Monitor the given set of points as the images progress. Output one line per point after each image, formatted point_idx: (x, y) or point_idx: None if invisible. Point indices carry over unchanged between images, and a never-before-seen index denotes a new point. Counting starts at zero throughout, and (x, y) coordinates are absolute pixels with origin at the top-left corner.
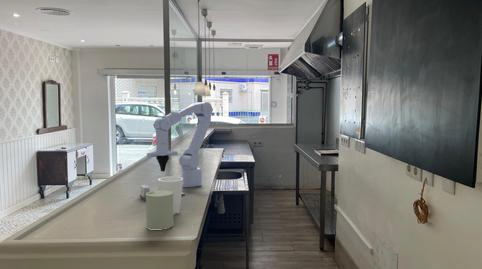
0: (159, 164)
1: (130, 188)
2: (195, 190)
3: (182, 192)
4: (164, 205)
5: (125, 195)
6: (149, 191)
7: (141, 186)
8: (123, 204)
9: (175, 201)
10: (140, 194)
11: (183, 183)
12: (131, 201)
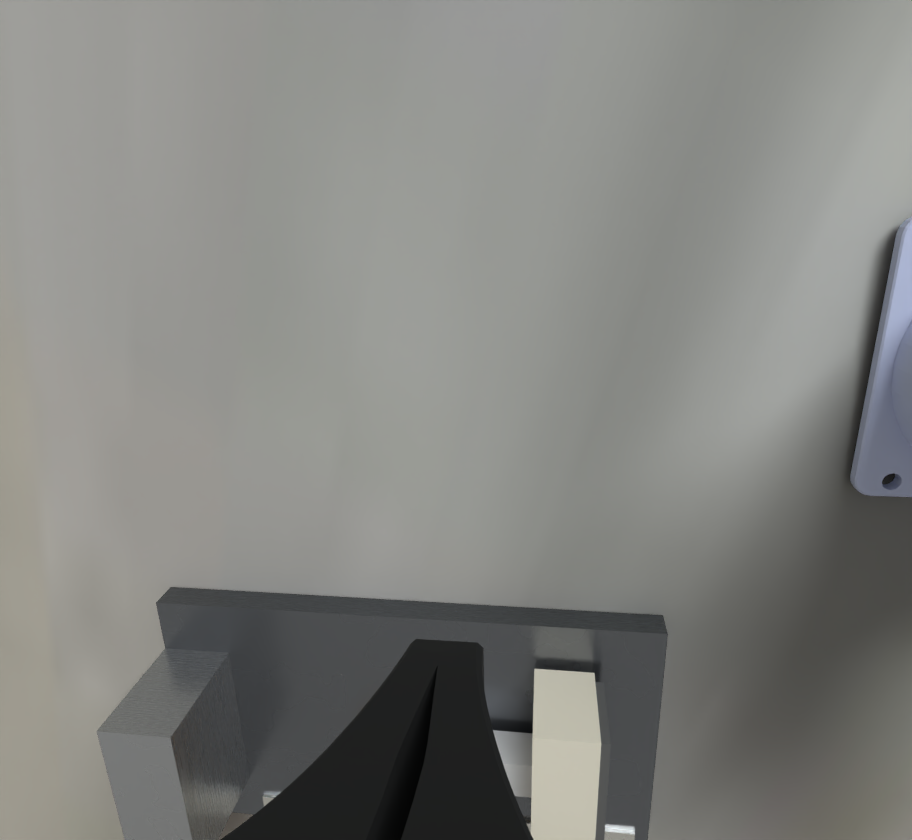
0: (333, 759)
1: (42, 101)
2: (897, 693)
3: (642, 806)
4: None
5: (10, 501)
6: (222, 829)
7: (108, 767)
8: (25, 799)
9: None
10: (165, 624)
11: (908, 407)
12: (87, 750)
